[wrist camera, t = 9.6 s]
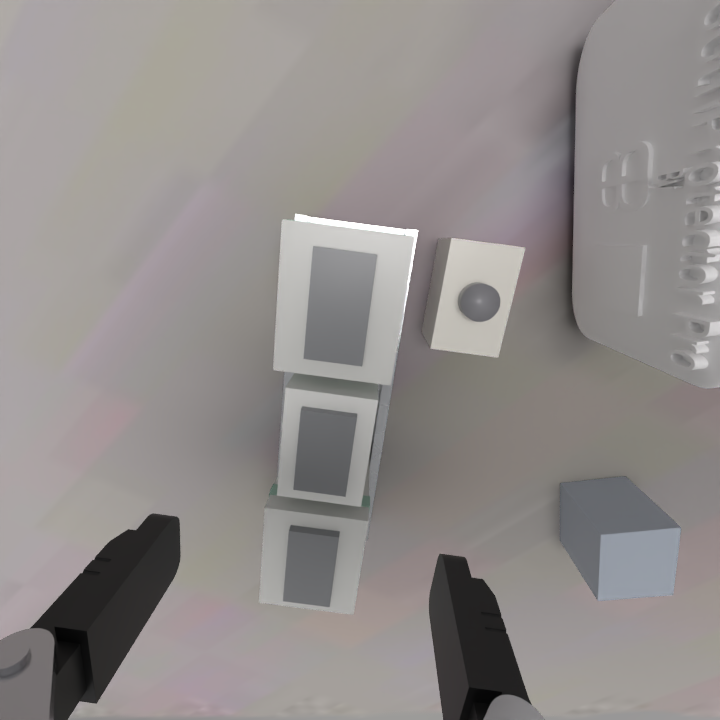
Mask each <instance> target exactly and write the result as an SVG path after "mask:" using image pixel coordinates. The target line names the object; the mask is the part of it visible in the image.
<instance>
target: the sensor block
mask: <svg viewBox="0 0 720 720" xmlns="http://www.w3.org/2000/svg"><path fill="white" fill-rule="evenodd" d="M524 252H525V247H517V246H509V245H502V244H494V243H487V242H479V241H472V240H464V239H457V238H441V239H438V243H437V249H436V254H435V260H434V265H433V271H432V276H431V282H430V287H429V293H428V299H427V304H426V310H425V315H424V321H423V326H422V334H423V336H424V338H425V339H426V341H427V343H428V345H429V347H430V349H436V350H444V351H452V352H459V353H467V354H474V355H482V356H490V357H497V358H498V356H499V352H500V348H501V344H502V340H503V336H504V332H505V328H506V324H507V320H508V316H509V312H510V308H511V304H512V300H513V296H514V292H515V288H516V284H517V280H518V276H519V272H520V268H521V264H522V260H523V256H524Z"/></svg>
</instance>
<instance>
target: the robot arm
mask: <svg viewBox="0 0 720 720" xmlns="http://www.w3.org/2000/svg"><path fill="white" fill-rule="evenodd" d="M179 562H180V523H179V518H178V517H175V516H168V515H160V514H151V515H149V516H148V517H147V518H146V519H145V521H144V522H143V523H142V524H141V525H140V526H139V528H138V529H137V530H129V529H128V530H127V531H125V532H123V533H122V534H120V535H119V536H117V537H116V538H114V539H113V540H111V541H110V542H109V543H108V544H107V545H106V546H105V547H104V548H103V549H102V550H101V551H100V553H99V554H98V555H97V556H96V557H95V560H92V561H91V562H90V564H89V565H88V566H87V567H86V568H85V569H84V571H83V573H80V575H79V576H78V577H77V578H76V579H75V580H74V581H73V582H72V583H71V584H70V586H69V587H68V588H67V589H66V590H65V591H64V592H63V593H62V594H61V595H60V597H59V598H58V599H57V600H56V601H55V602H54V603H53V604H52V605H51V606H50V608H49V609H48V610H47V611H46V612H45V613H44V614H43V615H42V616H41V617H40V619H39V620H38V621H37V622H36V623H35V624H34V625H33V626H32V627H31V628H30V629H25V630H22V631H19V632H16V633H14V634H11V635H9V636H7V637H5V638H3V639H2V640H0V720H68V718H69V716H70V715H71V713H72V712H73V710H74V709H75V707H76V706H77V704H78V703H79V701H82V702H89V703H96V704H97V702H98V700H99V699H100V697H101V695H102V694H103V692H104V691H105V689H106V687H107V686H108V684H109V682H110V681H111V679H112V678H113V676H114V674H115V673H116V671H117V669H118V668H119V666H120V665H121V663H122V661H123V660H124V658H125V657H126V655H127V653H128V652H129V650H130V648H131V647H132V645H133V644H134V642H135V640H136V639H137V637H138V635H139V634H140V632H141V631H142V629H143V627H144V626H145V624H146V622H147V621H148V619H149V618H150V616H151V614H152V613H153V611H154V610H155V608H156V606H157V605H158V603H159V601H160V600H161V598H162V597H163V595H164V593H165V592H166V590H167V588H168V587H169V585H170V584H171V582H172V580H173V579H174V577H175V575H176V572H177V569H178V566H179ZM429 615H430V623H431V631H432V638H433V646H434V653H435V661H436V668H437V676H438V683H439V691H440V698H441V706H442V713H443V720H545V719H544V718H543V716H542V715H541V714H540V713H539V712H538V710H537V709H536V708H534V707H533V706H532V704H531V702H530V700H529V698H528V695H527V692H526V689H525V686H524V683H523V680H522V677H521V674H520V671H519V668H518V665H517V662H516V658H515V655H514V652H513V649H512V646H511V643H510V640H509V637H508V634H506V628H505V625H504V622H503V619H502V618H501V613H500V610H499V606H498V603H497V600H496V597H495V595H494V594H493V592H492V591H491V590H490V588H489V587H488V586H487V584H486V583H485V581H484V580H483V579H477V578H471V574H470V571H469V567H468V563H467V560H466V558H465V557H460V556H453V555H445V554H439V556H438V560H437V564H436V568H435V573H434V577H433V582H432V586H431V590H430V597H429Z"/></svg>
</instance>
